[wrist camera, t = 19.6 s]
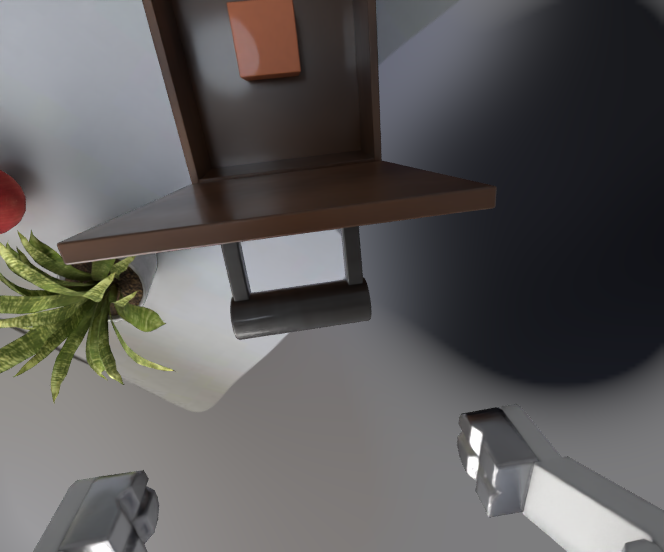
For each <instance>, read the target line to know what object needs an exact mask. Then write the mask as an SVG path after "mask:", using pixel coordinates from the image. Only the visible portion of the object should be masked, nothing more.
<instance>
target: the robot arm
mask: <svg viewBox="0 0 664 552" xmlns="http://www.w3.org/2000/svg"><path fill="white" fill-rule="evenodd" d="M459 426H460V427H461V430H462V431H461V433H460V434H459V435H458V437H457V439H458V440H457V446H458V452H459V456H460V459H461V462H462V465H463V467H464V469H465V471H466V473H467V474H468V475H470V476H471V477H472V478H474V479H475V480H476V481H477V482H476V493H477V494H478V497H479V499H480V500H481V502H482V504H483V506H484V508H485V510H486V512H487V514H488V516H489V517H494V516H500V515H507V514H513V513H519V512H523V514H524V515H525V516H526V517H527V518H528V519H530V520H531V521H532V522H533V523H534V524H536V525H537V526H538V527H539V528H540V529H541V530H543V531H544V532H545V533H546V534H547V535H549V536H550V537H551V538H552V539H553V540H555V541H556V542H557V543H558V544H559V545H560V546H561V547H563V548H564V549H565V550H566V551H567V552H664V510H662V509H660V508H658V507H657V506H655V505H653V504H651V503H650V502H648V501H646V500H644V499H642V498H641V497H639V496H637V495H635V494H634V493H632V492H630V491H628V490H626V489H625V488H623V487H621V486H619V485H618V484H616V483H614V482H612V481H610V480H609V479H607V478H605V477H603V476H602V475H600V474H598V473H596V472H595V471H593V470H591V469H589V468H587V467H586V466H584V465H582V464H580V463H579V462H577V461H575V460H573V459H572V458H570V457H568V456H567V457H561V456H560V454H559V453H558V452H557V451H556V449H555V448H554V447H553V446H552V444H551V443H550V442H549V441H548V440H547V438H546V437H545V436H544V434H543V433H542V432H541V431H540V429H539V428H538V427H537V426H536V425H535V423H534V422H533V421H532V420H531V418H530V417H529V416H528V415H527V413H526V412H525V411H524V410H523V408H521V406H519V405H517V404H514V405H508V406H502V407H498V408H497V407H495V408H489V409H484V410H479V411H473V412H468V413H463V414H461V415H460V417H459ZM147 482H148V477H147V475H146V473H145V472H144V470H143V471H135V472H129V473H122V474H115V475H108V476H101V477H95V478H89V479H83V480H77V481H76V482H75V483H74V484H73V485H71V486H70V488H69V489H68V491H67V493H66V495H65V497H64V498H63V500H62V502H61V503H60V505H59V507H58V509H57V510H56V512H55V514H54V516H53V517H52V519H51V521H50V523H49V525H48V526H47V528H46V530H45V532H44V533H43V535H42V537H41V539H40V541H39V542H38V544H37V546H36V548H35V549H34V551H33V552H147V549H146V547H145V542H147V540H148V539H149V538H150V537H151V536H152V535H153V533H154V532H155V528H156V525H157V521H158V513H159V502H158V497H157V495H156V492H155V490H153V489H151V488H149V487H147V486H146V485H147Z"/></svg>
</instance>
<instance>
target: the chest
mask: <svg viewBox="0 0 664 552" xmlns="http://www.w3.org/2000/svg"><path fill="white" fill-rule="evenodd" d="M236 1H248V0H142V2H143V6H144V9H145V13H146V17H147V20H148V24H149V28H150V31H151V35H152V39H153V42H154V46H155V50H156V53H157V57H158V61H159V64H160V68H161V72H162V75H163V79H164V83H165V86H166V90H167V94H168V97H169V101H170V105H171V108H172V112H173V116H174V119H175V123H176V127H177V130H178V134H179V138H180V141H181V145H182V149H183V152H184V156H185V160H186V163H187V167H188V171H189V174H190V178H191V182H192V184H197V183H205V182H213V181H222V180H230V179H238V178H246V177H254V176H262V175H270V174H278V173H286V172H295V171H303V170H311V169H319V168H327V167H335V166H343V165H351V164H359V163H368V162H376V161H382V159H381V131H380V106H379V105H380V104H379V80H378V79H379V77H378V48H377V21H376V0H293V6H294V14H295V23H296V32H297V41H298V49H299V58H300V67H301V72H300V74H299V76H292V77H282V78H272V79H262V80H252V81H246V80H244V79H242V78H241V77H240V74H239V69H238V63H237V58H236V52H235V47H234V41H233V36H232V30H231V25H230V19H229V14H228V8H227V2H236Z"/></svg>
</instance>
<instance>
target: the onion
mask: <svg viewBox="0 0 664 552" xmlns="http://www.w3.org/2000/svg"><path fill="white" fill-rule="evenodd" d="M25 211H26V197H25V195H24V192H23V190H22V188H21V186H20V185H19V184H18V183H17V182H16V181H15V180H14V179H13V178H12V177H11V176H10V175H8V174H6V173H5V172H3V171H2V170H0V234H2V233H5V232H7V231H8V230H10V229H11V228H13V227H14V226H16V225H17V224H18V223H19V222H20V221H21V219H22V217H23V215H24V213H25Z"/></svg>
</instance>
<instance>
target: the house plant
mask: <svg viewBox="0 0 664 552" xmlns="http://www.w3.org/2000/svg"><path fill="white" fill-rule="evenodd" d="M18 235H19V237H20V239H21V242H22V244H23V246H24V248H25V249H26V251H27V252H28V253H29V254H30V256H31V257H32V258H33V259H34V261H35V262H36V263H38V264H39V265H40V266H42V267H44V268H45V269H47V270H49V271H51V272H53V273H55V274H57V278H54V277H52V276H50V275H48V274H47V273H45V272H43V271H42V270H40V269H38V268H37V267H35V266H34V265H33V264H31V263H30V261H29V260H28V259H27V258H26V256H25V255H24V254H23V253H22V252H21V251H20V250H19V249H18V248H17V251H18V253H17V252H16V251H14V250H13V249H12V248H10V246H9V244H8V242H7V244H6V247H5V246H4V245H3V244H2V243H0V255H1V256H2V258H3V259H4V260H5V262H6V264H7V266H8V267H9V269H10V270H11V271H13V272H14V273H15V274H17V275H18V276H20V277H22V278H23V279H25V280H27V281H29V282H31V283H33V284H34V285H36V286H38V287H40V288H42V289H44V290H28V289H25V288H22V287H19V286H17V285H15V284H13V283H12V282H10V281H9V280H7V279H6V278H5V277H4V276H3V275H2V274H1V273H0V280H1V281H2V282H3V283H5V284H6V285H7V286H8V287H9V288H11V289H12V290H14V291H15V292H17V293H19V294H21V295H22V296H3V295H2V296H0V313H13V314H25V313H33V314H28V315H24V316H19V317H15V318H9V319H1V320H0V328H5V327H6V328H7V327H18V328H22V329H27V330H30V331H29V332H28V333H27V334H25V335H24V336H22V337H20V338H18V339H16V340H15V341H13V342H11V343H9V344H8V345H6V346H4V347H2V348H1V349H0V373H2V372H4V371H6V370H8V369H10V368H12V367H14V366H15V365H17V364H19V363H20V362H22V361H24V360H26V359H27V358H29V357H31V356H33V355H35V354H36V355H35V356H34V357H33V358H32V359H30V360H29V361H28V362H27V363H26V364H25V365H24V366H23V367H22V368H21V370H20V371H19V372H18V373H17V374H16V375H15V376H18V375H20V374H22V373H24V372H25V371H27V370H29V369H31V368H32V367H34V366H35V365H37V364H38V363H39V362H40V361H42V360H43V359H44V358H46V357H47V356H48V355H49V354H50V353H51V352H52V351H53V350H54V349H55V348H56V347H57V346H59V345H60V344H61V343H62V342H63V341H64V340H65V339H66V338H67V337H68V338H67V340H66V342H65V344H64V346H63V347H62V349H61V351H60V353H59V355H58V356H57V358H56V361H55V364H54V367H53V372H52V378H51V392H52V397H53V402H54V401H55V399H56V397H57V395H58V394H59V389H60V384H61V383H62V381H63V380H64V378H65V377H66V375H67V372H68V369H69V366H70V363H71V360H72V358H73V356H74V353H75V351H76V350H77V348H78V347H79V345H80V343H81V342H82V340H83V338H84V336H85V334H86V332H87V330H88V329H89V332H88V337H87V342H86V358H87V362H88V363H89V365H90V367H91V368H92V369H93V370H94V371H95V372H96V373H97V374H98V375H99V376H101V377H103V378H105V377H104V376H103V375H102V374H101V372H103V371H104V370H106V372H107V374H108V375H109V376H110V377H111V378H113V379H115V380H117V381H118V382H120V383H121V384H123V382H122V378H121V376H120V374H119V373H118V371H117V370H116V363H115V359H114V357H113V354H112V352H111V349H110V346H109V336H108V322H111V323H112V325H113V328H114V330H115V332H116V335H117V337H118V339H119V341H120V343H121V345H122V347H123V348H124V350H125V351H126V353H127V354H128V355H129V356H130V357H131V358H132V359H133V360H134V361H135V362H136V363H138V364H141V365H143V366H147V367H151V368H154V369H158V370H163V371H174V370H172V369H169V368H166V367H163V366H160V365H158V364H155V363H152V362H150V361H148V360H146V359H144V358H142V357H140V356H139V355H137V354H136V353H134V352H133V351H132V350H131V349H130V348H129V347H128V346H127V345H126V343H125V342H124V341H123V339H122V337H121V335H120V334H119V332H118V330H117V329H116V327H115V325H114V323H113V322H116V321H122V320H125V321H127V322H129V323H131V324H132V325H133V326H135V327H136V328H138V329H139V330H142V331H144V332H149V331H152V330H155V329H157V328H159V327H160V326H162V325H164V324H166V323H163V321H162V320H161V318H160V317H159V315H158V314H157V313H156V312H154V311H153V310H151V309H148V308H145V307H143V305H144V303H145V301H146V298H147V295H148V293H149V290H150V287H151V284H152V281H153V278H154V275H155V272H156V269H157V265H158V262H157V256H156V254H155V253H153V254H146V255H138V256H131V257H124V258H116V259H109V260H101V261H94V262H86V263H79V264H71V265H65V263H64V261H63V259H62V257H61V256H60V255H59V254H58V253H57V252H56V251H54V250H53V249H52V248H50V247H49V246H47V245H46V244H44V243H42V242H41V241H39V240H38V239H37V238H36V237H35V236H34V235H33V233H32V230H31V235H30V240H29V242H28V240H27V239H26V238H25V237H24V236H23V235H22V234H20V233H19V232H18ZM62 306H64V307H62ZM56 307H61V308H57V309H53V310H48V311H43V312H39V311H42V310H46V309H49V308H56ZM36 312H38V313H36ZM29 326H33V327H32V328H31V327H29ZM15 376H14V377H15ZM105 379H106V378H105ZM123 385H124V384H123Z"/></svg>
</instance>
